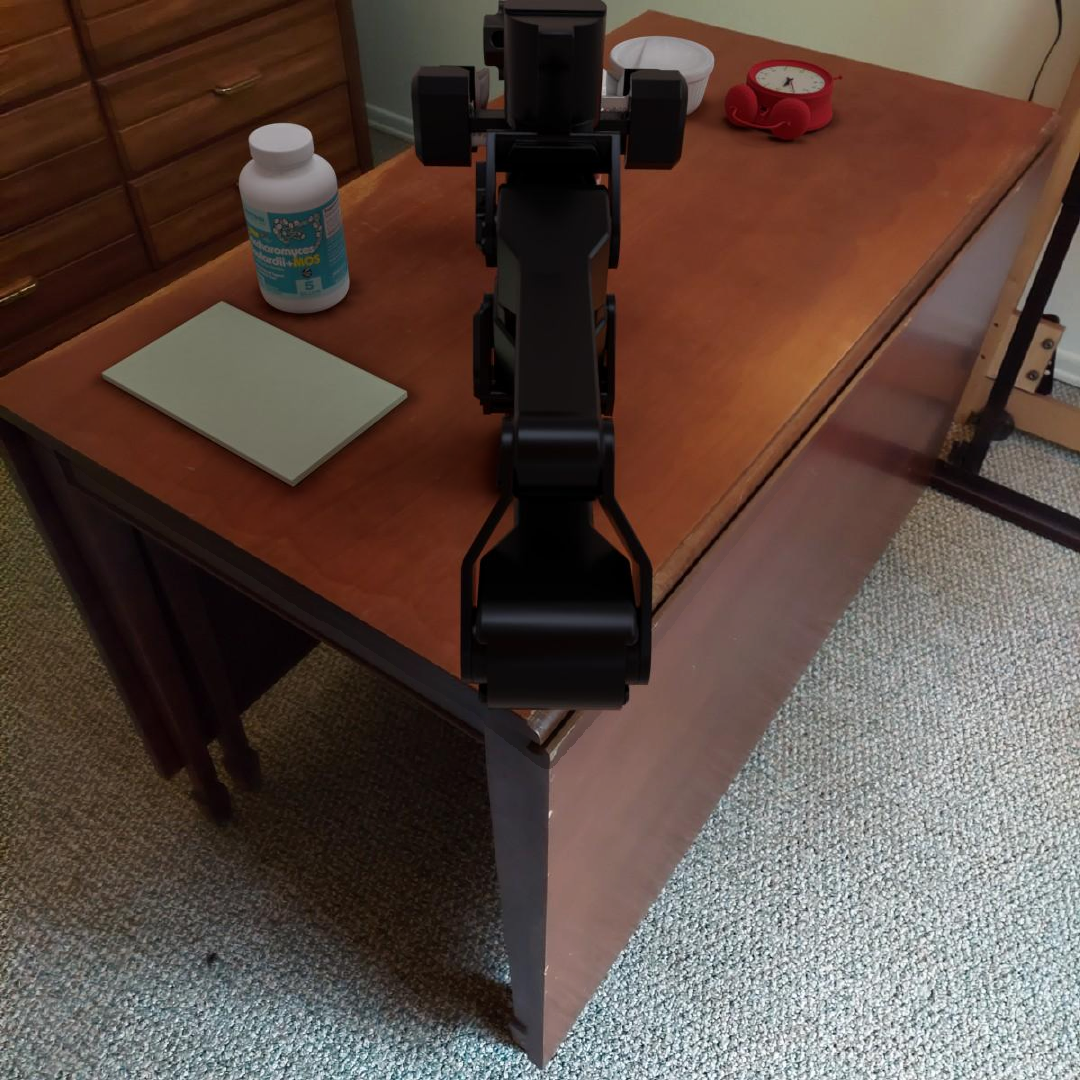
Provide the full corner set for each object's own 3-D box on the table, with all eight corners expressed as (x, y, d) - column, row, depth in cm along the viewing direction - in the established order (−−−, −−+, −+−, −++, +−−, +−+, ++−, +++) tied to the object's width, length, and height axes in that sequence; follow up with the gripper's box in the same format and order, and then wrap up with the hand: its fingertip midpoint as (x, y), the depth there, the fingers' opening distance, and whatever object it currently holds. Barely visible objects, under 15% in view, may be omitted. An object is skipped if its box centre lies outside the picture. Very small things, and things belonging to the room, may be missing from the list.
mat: (407, 397, 74) (407, 391, 73) (293, 487, 67) (291, 480, 67) (223, 306, 81) (221, 300, 81) (103, 379, 75) (101, 372, 74)
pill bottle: (247, 310, 81) (210, 151, 71) (283, 263, 86) (253, 109, 76) (332, 324, 80) (306, 165, 70) (364, 275, 85) (344, 121, 75)
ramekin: (591, 90, 112) (594, 41, 108) (679, 77, 115) (685, 29, 111) (632, 132, 105) (636, 81, 101) (725, 117, 108) (732, 67, 104)
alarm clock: (858, 72, 107) (810, 85, 97) (839, 132, 111) (791, 151, 100) (771, 49, 111) (716, 60, 101) (756, 108, 115) (701, 124, 104)
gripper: (712, 32, 58) (683, -42, 69) (393, 26, 57) (416, -47, 69) (689, 211, 65) (666, 119, 77) (408, 207, 65) (426, 115, 76)
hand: (547, 76), depth 74 cm, fingers open, 9 cm apart
